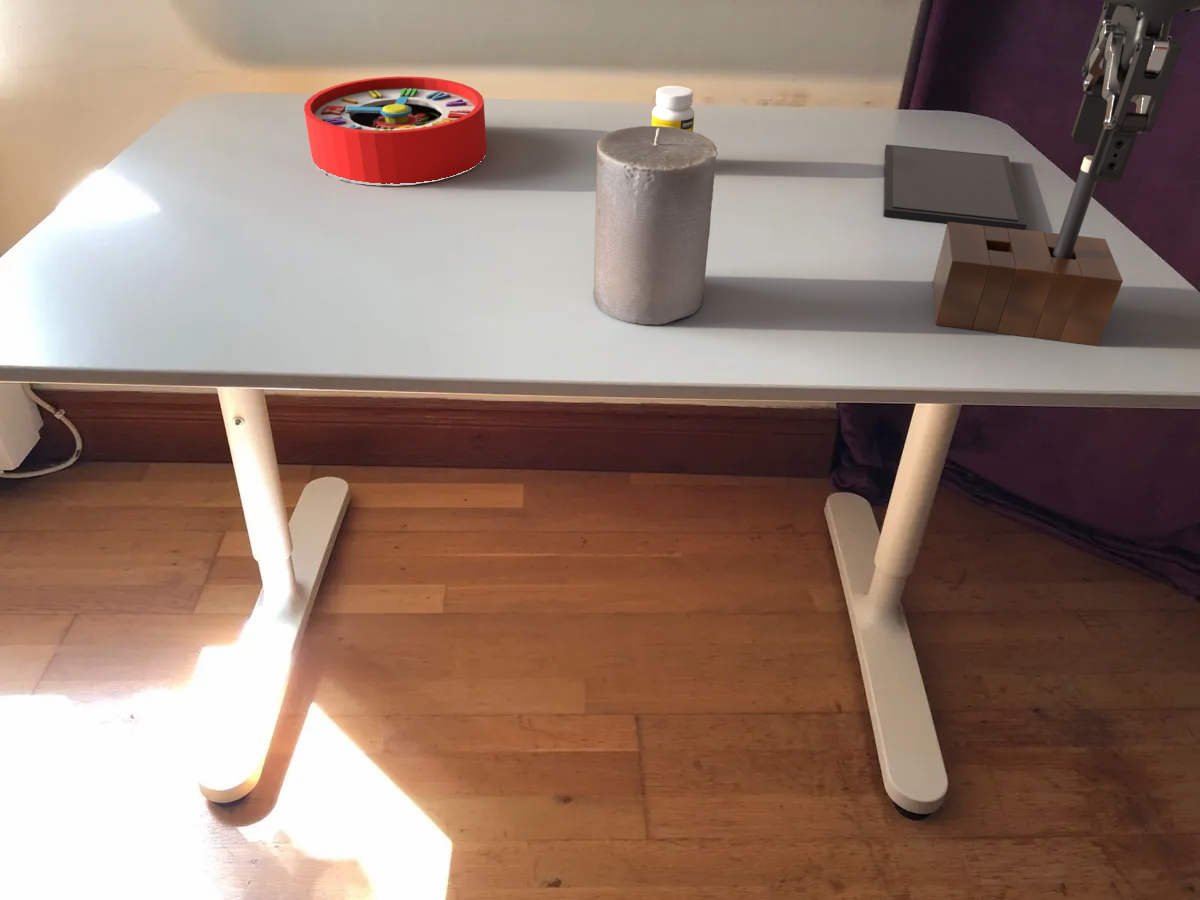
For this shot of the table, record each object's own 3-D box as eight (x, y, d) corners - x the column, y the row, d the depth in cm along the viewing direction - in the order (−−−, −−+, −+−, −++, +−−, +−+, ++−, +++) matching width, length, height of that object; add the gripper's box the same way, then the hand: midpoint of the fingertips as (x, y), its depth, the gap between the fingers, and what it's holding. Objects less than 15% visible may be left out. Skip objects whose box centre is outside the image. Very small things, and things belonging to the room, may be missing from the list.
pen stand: (1082, 301, 85) (1105, 238, 81) (1097, 346, 79) (1123, 280, 75) (932, 282, 87) (947, 221, 84) (935, 325, 81) (952, 260, 78)
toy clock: (469, 135, 99) (279, 129, 100) (473, 189, 103) (290, 183, 104) (494, 78, 115) (330, 74, 116) (497, 127, 119) (338, 122, 119)
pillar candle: (604, 269, 88) (607, 105, 79) (709, 279, 87) (724, 114, 78) (583, 320, 81) (584, 145, 72) (698, 332, 80) (713, 156, 70)
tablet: (1006, 162, 112) (1008, 155, 111) (1024, 232, 96) (1027, 223, 96) (884, 150, 114) (885, 143, 114) (883, 216, 99) (884, 208, 98)
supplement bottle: (682, 176, 107) (687, 99, 102) (643, 169, 108) (646, 93, 103) (696, 162, 111) (701, 87, 105) (658, 155, 112) (661, 81, 107)
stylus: (1048, 313, 83) (1102, 156, 75) (1050, 321, 82) (1105, 162, 73) (1031, 311, 83) (1083, 154, 75) (1033, 319, 82) (1086, 160, 74)
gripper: (1266, -52, 58) (1165, 201, 68) (1206, -87, 69) (1127, 135, 79) (1134, -60, 60) (1054, 189, 69) (1097, -93, 71) (1032, 126, 80)
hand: (1093, 160), depth 74 cm, fingers open, 8 cm apart
